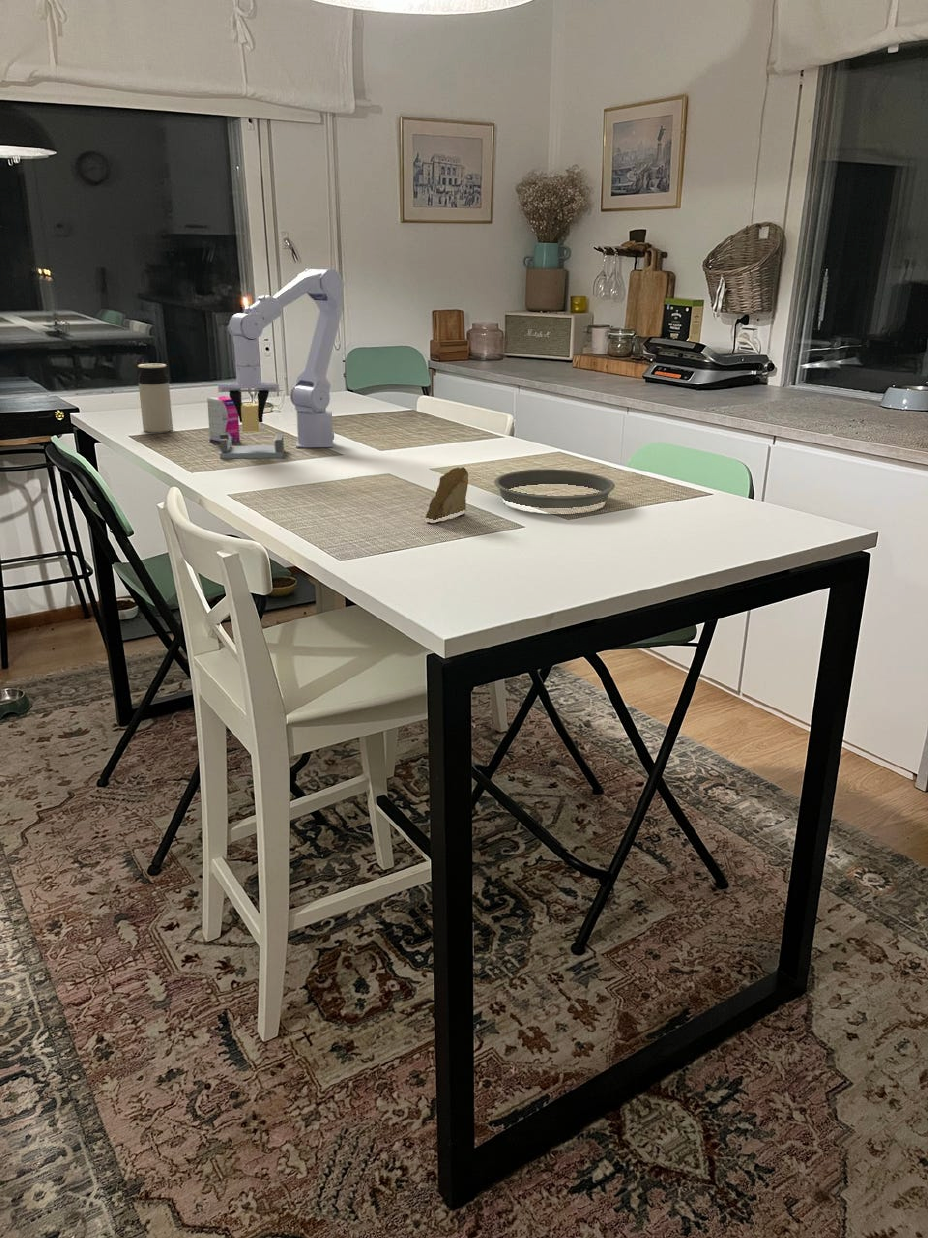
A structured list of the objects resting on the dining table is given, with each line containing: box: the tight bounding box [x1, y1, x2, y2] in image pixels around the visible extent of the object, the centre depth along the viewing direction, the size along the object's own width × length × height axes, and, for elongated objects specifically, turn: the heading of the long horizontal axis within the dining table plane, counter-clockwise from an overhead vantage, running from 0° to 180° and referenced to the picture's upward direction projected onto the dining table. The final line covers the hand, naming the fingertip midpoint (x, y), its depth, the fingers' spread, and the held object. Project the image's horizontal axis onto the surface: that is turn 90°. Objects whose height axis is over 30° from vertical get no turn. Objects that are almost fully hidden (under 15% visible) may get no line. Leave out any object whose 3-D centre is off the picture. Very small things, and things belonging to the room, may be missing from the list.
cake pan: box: [493, 468, 616, 508], centre depth 196 cm, size 25×25×4 cm
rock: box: [425, 466, 469, 520], centre depth 183 cm, size 11×9×10 cm
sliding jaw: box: [219, 433, 233, 452], centre depth 237 cm, size 2×9×4 cm, turn 8°
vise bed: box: [219, 433, 285, 459], centre depth 239 cm, size 15×10×4 cm, turn 98°
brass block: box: [241, 402, 262, 432], centre depth 236 cm, size 4×6×6 cm, turn 8°
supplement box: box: [206, 395, 241, 444], centre depth 253 cm, size 6×6×12 cm
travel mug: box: [137, 363, 174, 433], centre depth 266 cm, size 8×8×18 cm
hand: (251, 421), depth 237 cm, fingers closed on brass block, 4 cm apart
